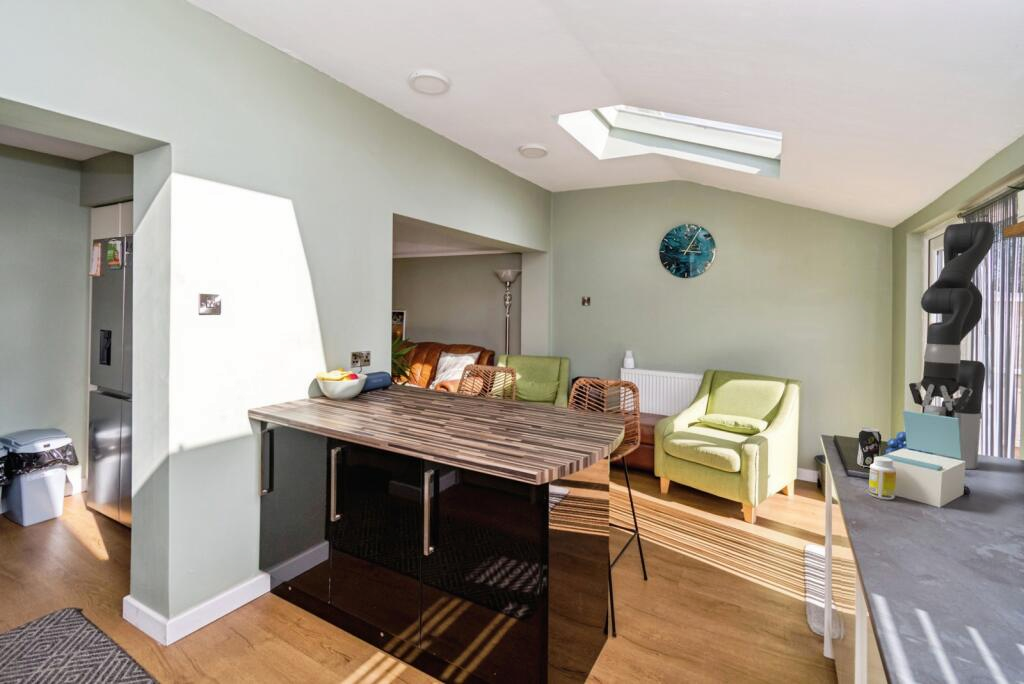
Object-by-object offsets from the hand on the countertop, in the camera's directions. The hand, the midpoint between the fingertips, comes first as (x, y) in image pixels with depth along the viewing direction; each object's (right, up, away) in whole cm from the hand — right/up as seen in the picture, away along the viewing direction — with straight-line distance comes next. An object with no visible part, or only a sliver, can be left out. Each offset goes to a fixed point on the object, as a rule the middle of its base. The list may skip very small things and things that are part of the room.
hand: (937, 421), depth 137 cm
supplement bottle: (-21, -19, -7) cm, 29 cm away
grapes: (+5, -17, +16) cm, 24 cm away
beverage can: (-7, -17, +17) cm, 25 cm away
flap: (-3, -3, -2) cm, 5 cm away
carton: (-8, -18, -4) cm, 21 cm away
